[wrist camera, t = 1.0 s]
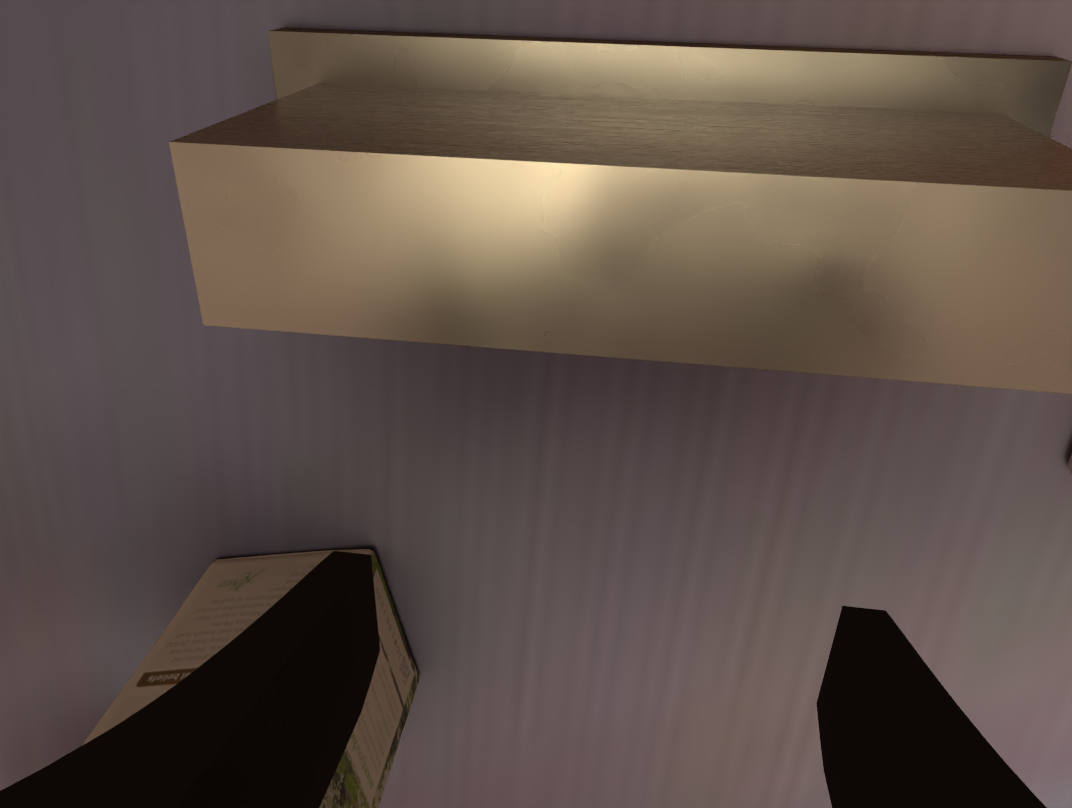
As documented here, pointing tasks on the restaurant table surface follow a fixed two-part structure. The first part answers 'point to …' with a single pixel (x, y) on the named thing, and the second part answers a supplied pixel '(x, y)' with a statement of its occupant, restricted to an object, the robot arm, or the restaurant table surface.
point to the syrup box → (234, 604)
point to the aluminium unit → (647, 203)
